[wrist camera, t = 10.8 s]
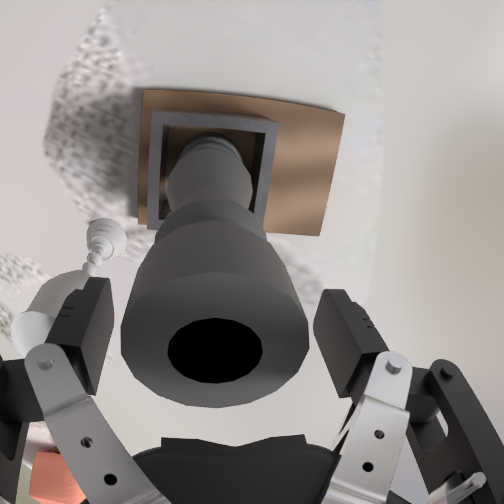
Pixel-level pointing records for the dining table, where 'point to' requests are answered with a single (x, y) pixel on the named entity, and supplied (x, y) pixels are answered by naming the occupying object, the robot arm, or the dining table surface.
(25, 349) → the chalice
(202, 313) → the candle holder
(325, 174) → the keeper plate
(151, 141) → the collar
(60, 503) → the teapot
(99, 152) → the dining table surface
